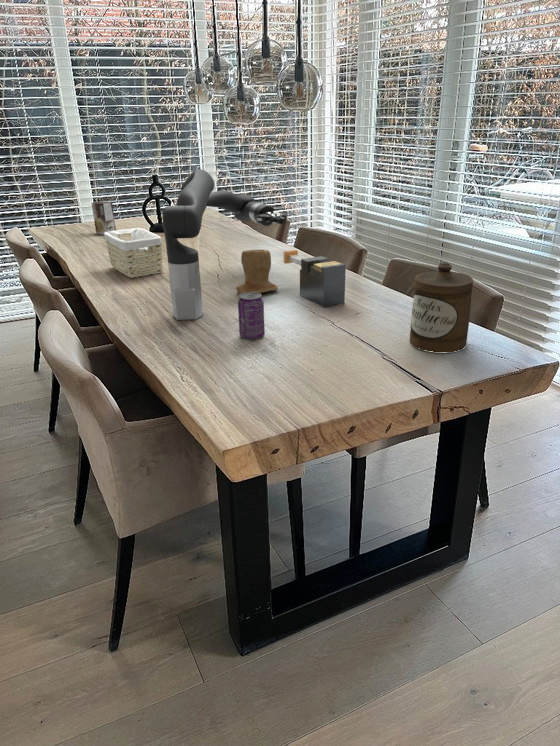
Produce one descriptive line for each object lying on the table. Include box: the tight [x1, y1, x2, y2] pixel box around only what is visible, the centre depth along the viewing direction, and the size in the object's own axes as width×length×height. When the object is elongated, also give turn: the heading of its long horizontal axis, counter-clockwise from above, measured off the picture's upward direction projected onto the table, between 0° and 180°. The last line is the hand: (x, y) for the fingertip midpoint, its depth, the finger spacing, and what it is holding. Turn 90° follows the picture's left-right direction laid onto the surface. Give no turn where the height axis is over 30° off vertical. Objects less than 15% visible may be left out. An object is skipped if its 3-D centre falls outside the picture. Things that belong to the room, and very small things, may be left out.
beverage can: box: [237, 292, 266, 340], centre depth 160 cm, size 7×7×12 cm
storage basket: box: [103, 227, 164, 279], centre depth 229 cm, size 24×16×15 cm
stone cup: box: [235, 248, 279, 295], centre depth 198 cm, size 15×12×15 cm
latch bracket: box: [299, 255, 347, 309], centre depth 189 cm, size 16×8×13 cm, turn 28°
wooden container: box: [409, 261, 474, 353], centre depth 150 cm, size 15×15×22 cm
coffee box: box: [91, 200, 117, 235], centre depth 300 cm, size 9×6×16 cm
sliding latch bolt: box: [283, 249, 314, 270], centre depth 199 cm, size 18×5×4 cm, turn 28°
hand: (283, 221), depth 204 cm, fingers closed
